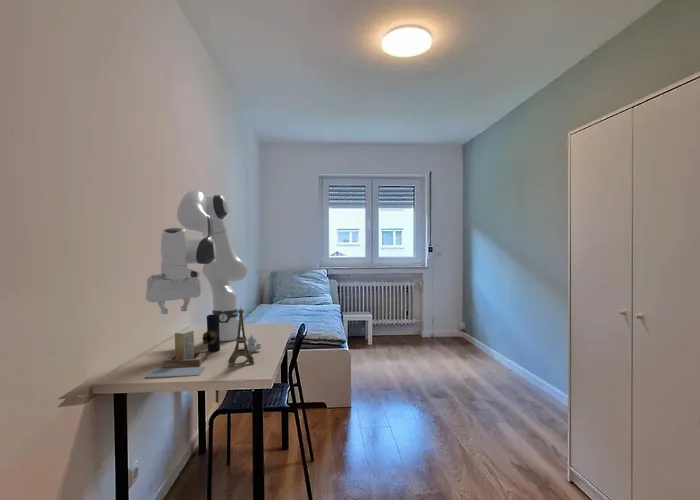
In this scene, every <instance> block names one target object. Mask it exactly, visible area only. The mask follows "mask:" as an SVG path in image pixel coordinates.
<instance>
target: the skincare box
mask: <svg viewBox="0 0 700 500" xmlns="http://www.w3.org/2000/svg"><path fill="white" fill-rule="evenodd" d="M194 333H195V332H194V330H191V329H183V330H180V331H178V332H175V333H174V353H175V360H179V359H194V352H195V340H194V339H195V336H194V335H195V334H194Z"/></svg>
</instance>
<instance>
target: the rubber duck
mask: <svg viewBox="0 0 700 500" xmlns="http://www.w3.org/2000/svg"><path fill="white" fill-rule="evenodd" d="M246 342H247V343H246V345H247V347H248V349H249V352H250V353H251V354H252V353H253V354H254V353H256V352H257V351H258V350H261V349H262V348H261V347H262V343H261V342H257V339H256V338H255V336H253V335H252V334H250V336H249V337H248V339H247V340H246Z"/></svg>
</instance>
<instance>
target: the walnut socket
mask: <svg viewBox="0 0 700 500" xmlns="http://www.w3.org/2000/svg"><path fill="white" fill-rule="evenodd" d="M206 359H207V351H194V359H179V360H175V352H172V353H170V354H169V356H167V358H165V359H164V360H163V361H162V362H163V363H162V367H163V368H162V369H165V368H191V367H201V365H203V363H204V362H205V360H206Z"/></svg>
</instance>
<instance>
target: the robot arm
mask: <svg viewBox="0 0 700 500" xmlns="http://www.w3.org/2000/svg"><path fill="white" fill-rule="evenodd" d="M228 213H229V204H228V201H227V199H226V198H225V197H224V196H223V195H221V194H217V195H216V194H214V195H207V196H205V195H204V193H203V192H201V191H199V190H190V191H188V192H187V193H185V194H184V196H183V197H182V199H180V203H179V205H178V206H177V212H176V218H177V220H178V222H179V224H180V225H181V226H182V227H184V228H185V229H184V228H180V227H171V228H169V227H168V228H166V229H163V230H162V234H161V240H160V241H161V242H160V255H161V263H160V274H159V273H158V274H151V275H150V276H149V277H148V278H147V280H146V292H145V299H146V301H147V302H148V303H157V305H158V307H159V309H160V313H161V315H167V314H168V312H169V308H166V307H165V305H166V302H167V301H177V300H183V304H182V305H181V306H180V311H181V312H188V306H189V305H190V302H191V299H196V298H199V297H200V295H201V293H202V291H201V288H202V286H201V281H200V279H199V277H200V272H199V271H198V270H193V269H192V268H189V267H188V264H193V265H194V264H199V265H203V266H202V274H203V276H204V277H205V278H206V279H207V281H208V283H209V285H210V288H211V292H212V304H213V305H212V307H213V310H212V314H217V315H219V333H220V342H227V341H228V342H229V341H236V337H237V335H238V325H239V313H238V311H239V309H238V307H237V305H238V303H237V302H238V301H237V298H238V296H237V292H236V291H235V290H234V288H233V287H232V285H231V282H233V283H234V282H239V281H242V280H244V279H245V278H246V276H247V274H248V267H247V265H246V263H245V261H243V260H242V259H241V258H240V257H239V256H238V254H236V252H235V250H234V248H233V247H232V244H231V241H230V238H229V234H228V230H227V227H226V226H227V225H226V222H225V220H224V218H225V217H227V215H228ZM186 229H187V230H190V231H195V232H199V233H202V236H201V237H187V232H186ZM212 314H211V315H212ZM240 337H243V335H242V327H241V330H240Z"/></svg>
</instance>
